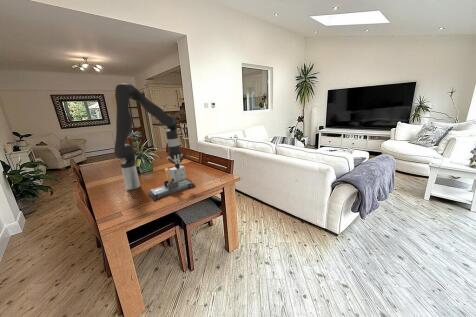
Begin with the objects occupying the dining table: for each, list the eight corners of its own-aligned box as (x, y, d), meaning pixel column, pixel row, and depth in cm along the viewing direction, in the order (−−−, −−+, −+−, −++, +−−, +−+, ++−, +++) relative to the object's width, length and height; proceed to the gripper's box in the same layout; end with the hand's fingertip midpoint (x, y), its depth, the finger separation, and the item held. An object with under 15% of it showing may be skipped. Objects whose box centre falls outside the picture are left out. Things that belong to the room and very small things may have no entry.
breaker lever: (169, 185, 137) (164, 168, 132) (171, 184, 138) (166, 167, 133) (171, 187, 134) (166, 170, 129) (173, 186, 135) (168, 169, 130)
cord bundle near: (148, 193, 133) (147, 191, 133) (153, 191, 136) (153, 189, 135) (154, 201, 122) (153, 198, 122) (160, 199, 125) (160, 196, 124)
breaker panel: (151, 193, 133) (149, 184, 131) (186, 182, 148) (184, 174, 146) (155, 198, 125) (153, 189, 123) (191, 186, 141) (190, 177, 139)
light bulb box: (181, 176, 161) (179, 164, 157) (186, 178, 157) (184, 166, 154) (170, 181, 152) (168, 168, 149) (175, 183, 149) (173, 170, 145)
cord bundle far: (182, 182, 149) (182, 180, 148) (187, 181, 151) (187, 179, 150) (191, 188, 137) (190, 186, 137) (196, 186, 140) (195, 184, 139)
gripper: (180, 142, 138) (184, 165, 143) (162, 146, 130) (166, 169, 135) (185, 143, 132) (188, 167, 137) (165, 147, 125) (170, 172, 129)
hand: (177, 168), depth 136 cm, fingers closed
